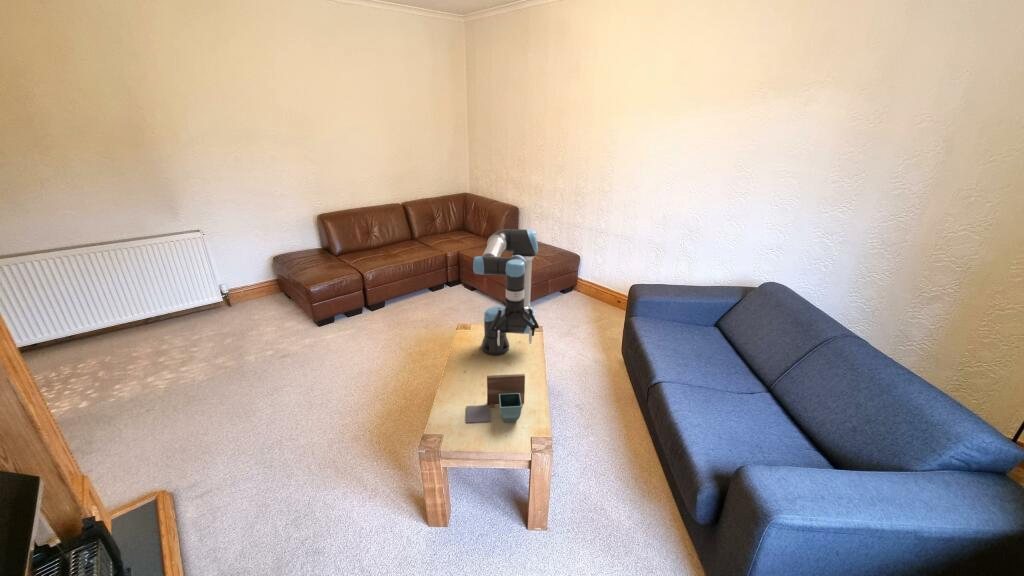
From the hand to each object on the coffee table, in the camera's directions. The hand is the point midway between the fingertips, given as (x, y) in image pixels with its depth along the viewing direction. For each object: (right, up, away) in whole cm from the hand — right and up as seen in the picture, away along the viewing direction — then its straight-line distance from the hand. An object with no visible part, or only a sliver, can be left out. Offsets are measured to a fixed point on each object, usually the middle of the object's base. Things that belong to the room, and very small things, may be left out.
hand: (514, 343), depth 168 cm
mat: (-15, -29, -3) cm, 33 cm away
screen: (-4, -27, +4) cm, 27 cm away
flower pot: (-2, -30, -5) cm, 31 cm away
